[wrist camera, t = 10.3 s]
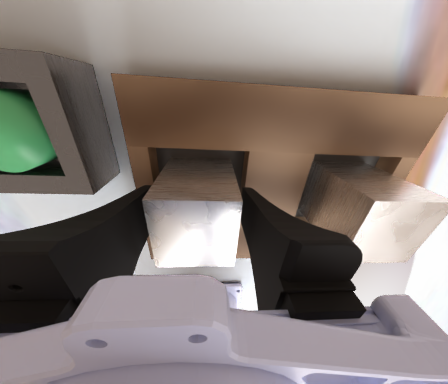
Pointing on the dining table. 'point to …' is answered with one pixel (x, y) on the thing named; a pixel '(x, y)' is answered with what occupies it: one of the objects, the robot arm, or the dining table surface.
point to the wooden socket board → (269, 131)
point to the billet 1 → (194, 213)
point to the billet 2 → (371, 209)
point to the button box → (61, 124)
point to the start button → (22, 133)
